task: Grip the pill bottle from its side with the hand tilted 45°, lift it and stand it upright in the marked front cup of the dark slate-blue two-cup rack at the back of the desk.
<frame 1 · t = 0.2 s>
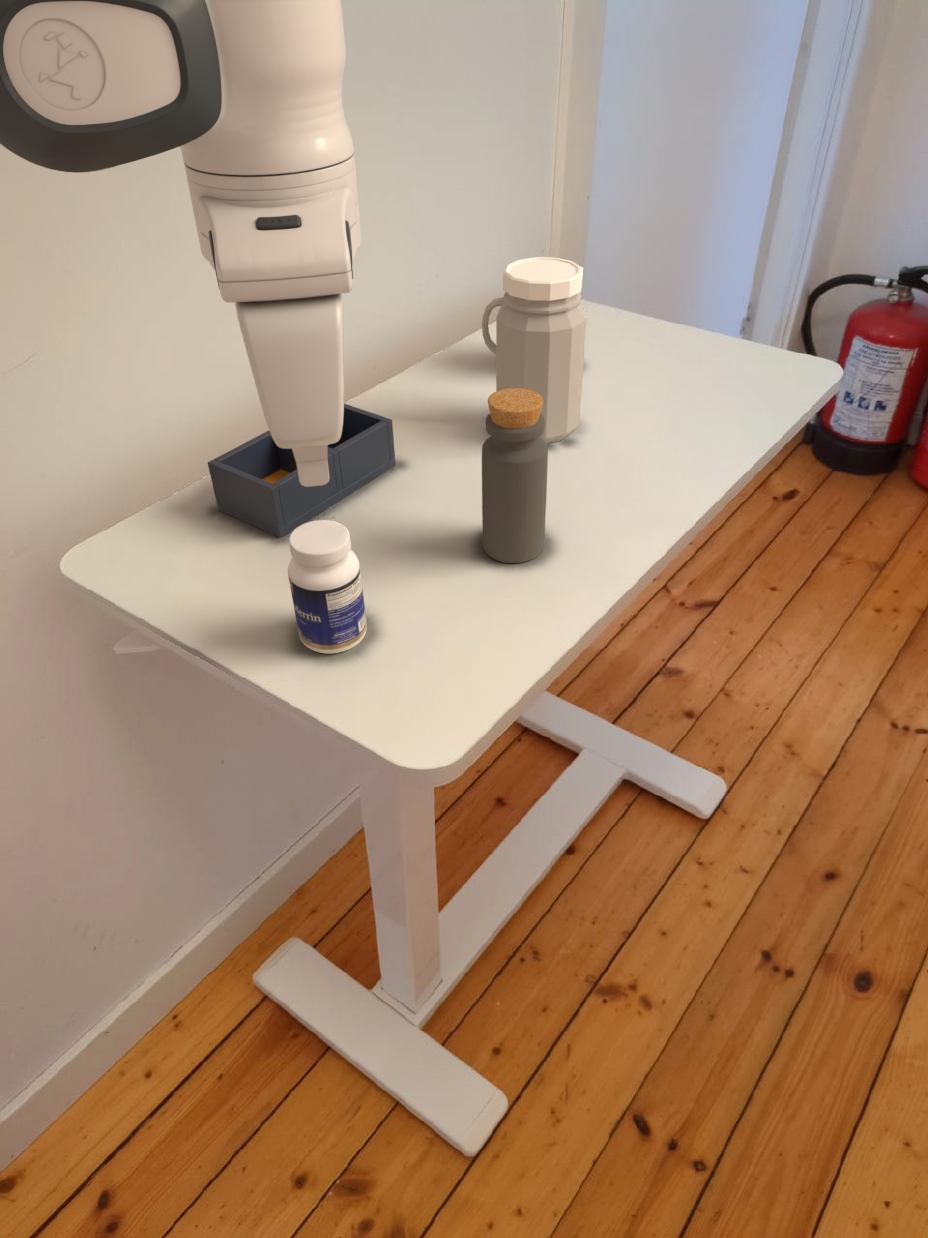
hand: (310, 443, 57), 21 cm above the table, tool pointing down, fingers open, 8 cm apart
jar: (538, 428, 104), on the table
rack: (309, 487, 95), on the table
bottle: (513, 548, 85), on the table
pill bottle: (334, 636, 76), on the table
mug: (529, 364, 118), on the table
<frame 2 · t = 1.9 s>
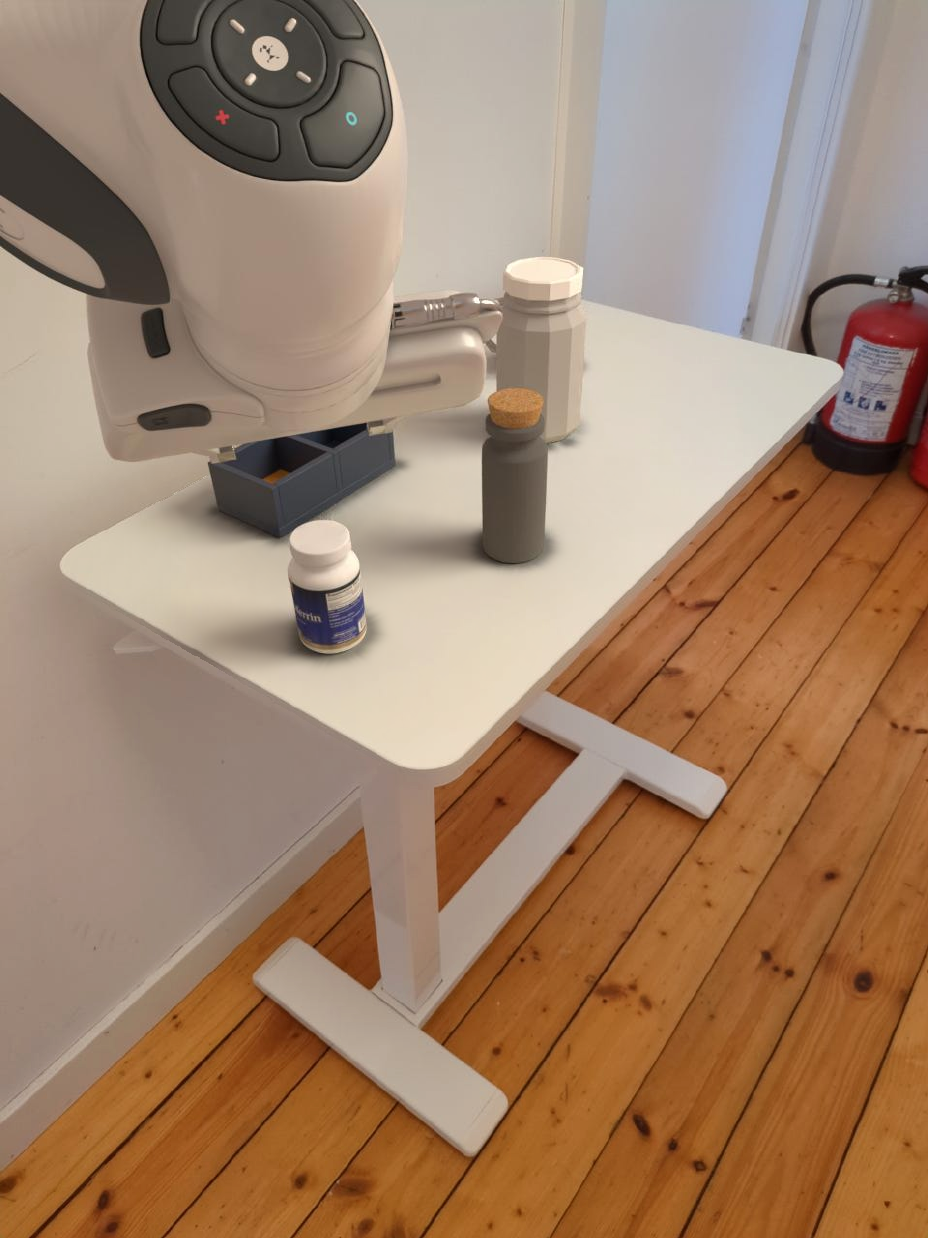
hand: (300, 436, 54), 23 cm above the table, tool tilted 45°, fingers open, 8 cm apart
nothing on the table moved.
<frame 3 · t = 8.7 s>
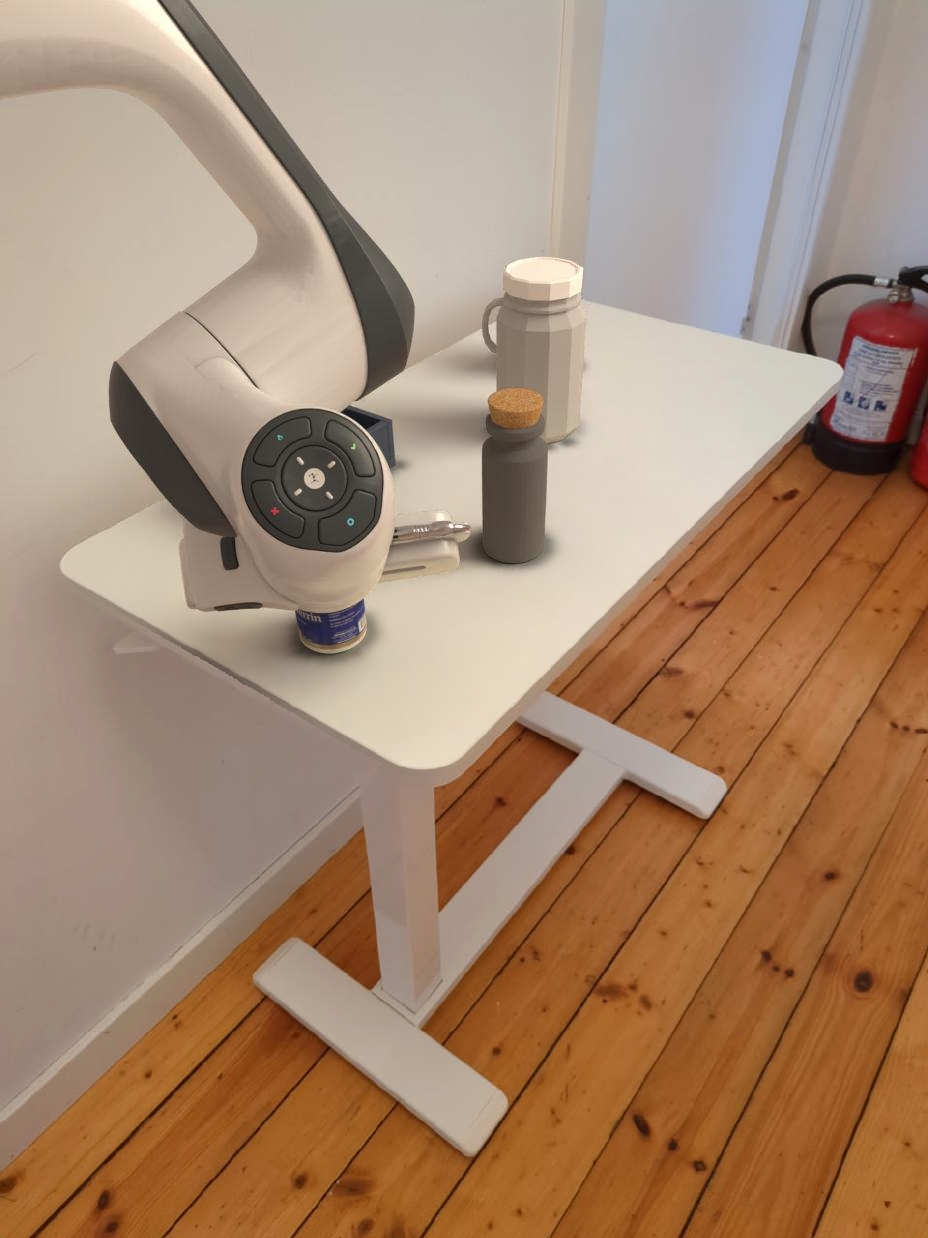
hand: (324, 578, 73), 5 cm above the table, tool tilted 45°, fingers closed on pill bottle, 6 cm apart
pill bottle: (334, 635, 76), on the table, touching gripper
everything else where it was.
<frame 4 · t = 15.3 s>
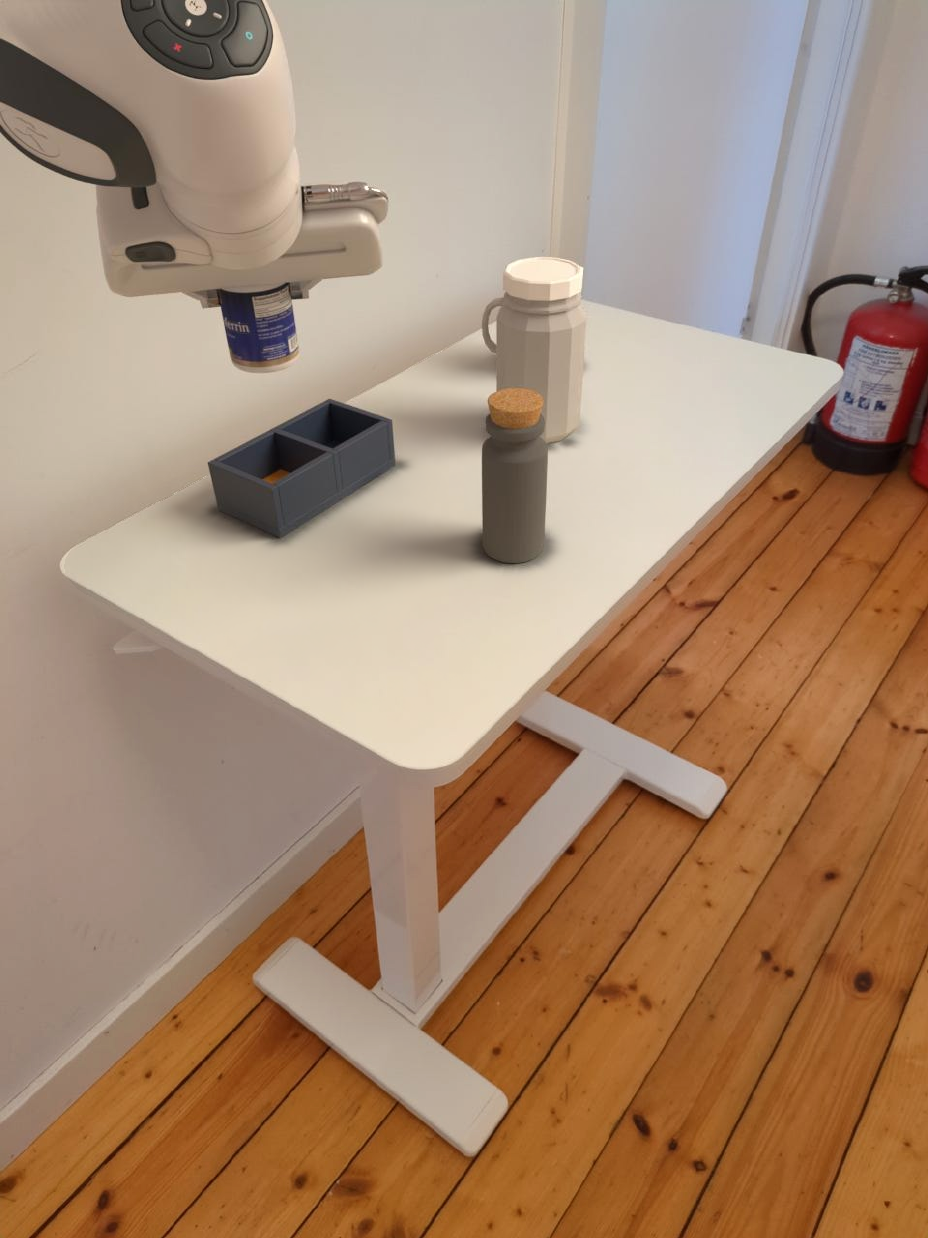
hand: (254, 295, 73), 23 cm above the table, tool tilted 45°, fingers closed on pill bottle, 6 cm apart
pill bottle: (266, 363, 76), point 18 cm above the table, touching gripper
everything else where it was.
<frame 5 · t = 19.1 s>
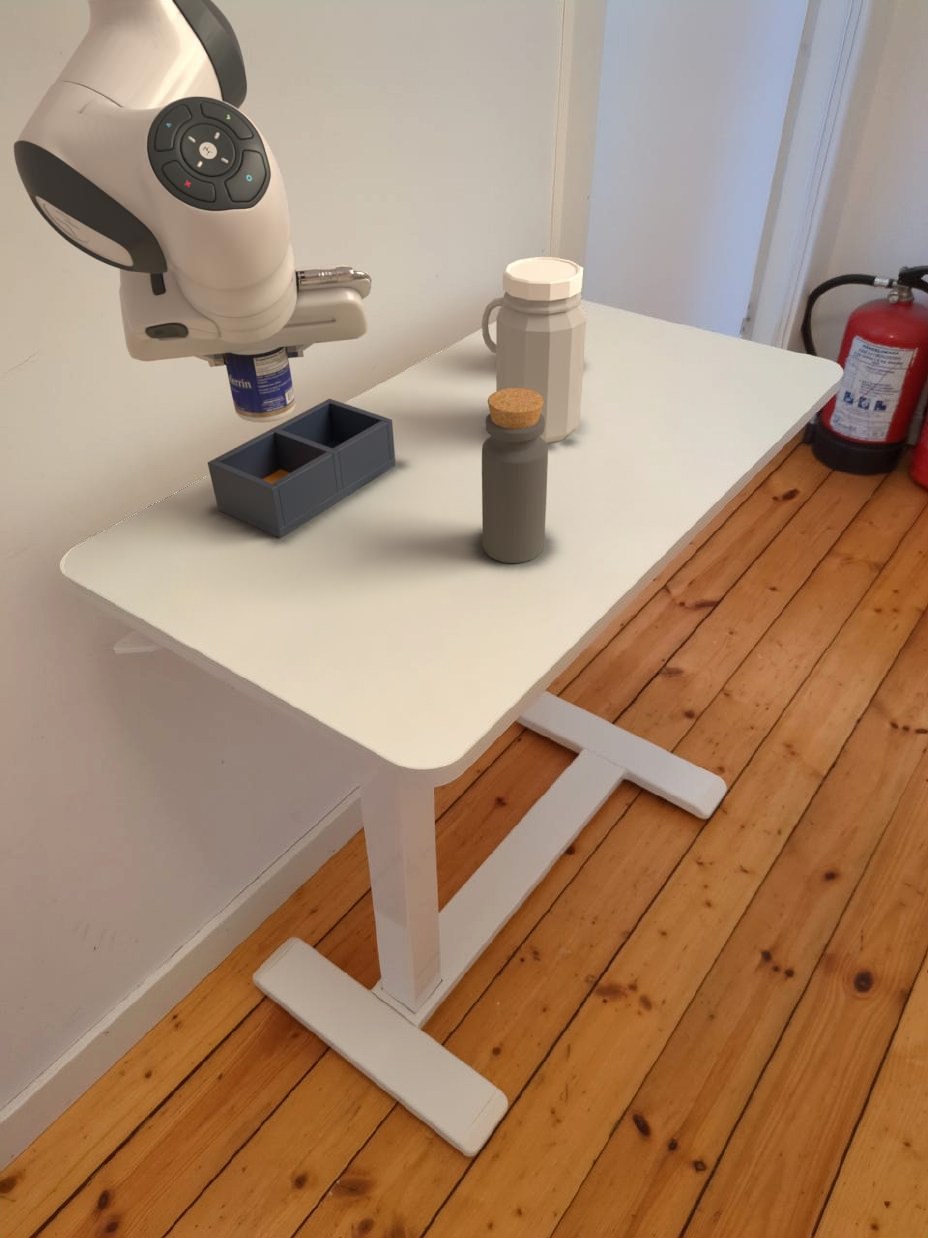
hand: (255, 354, 83), 16 cm above the table, tool tilted 45°, fingers closed on pill bottle, 6 cm apart
pill bottle: (266, 412, 86), point 10 cm above the table, touching gripper
everything else where it was.
when the fingers open (6 cm above the table, at t = 22.2 s): pill bottle stays where it is, resting on rack.
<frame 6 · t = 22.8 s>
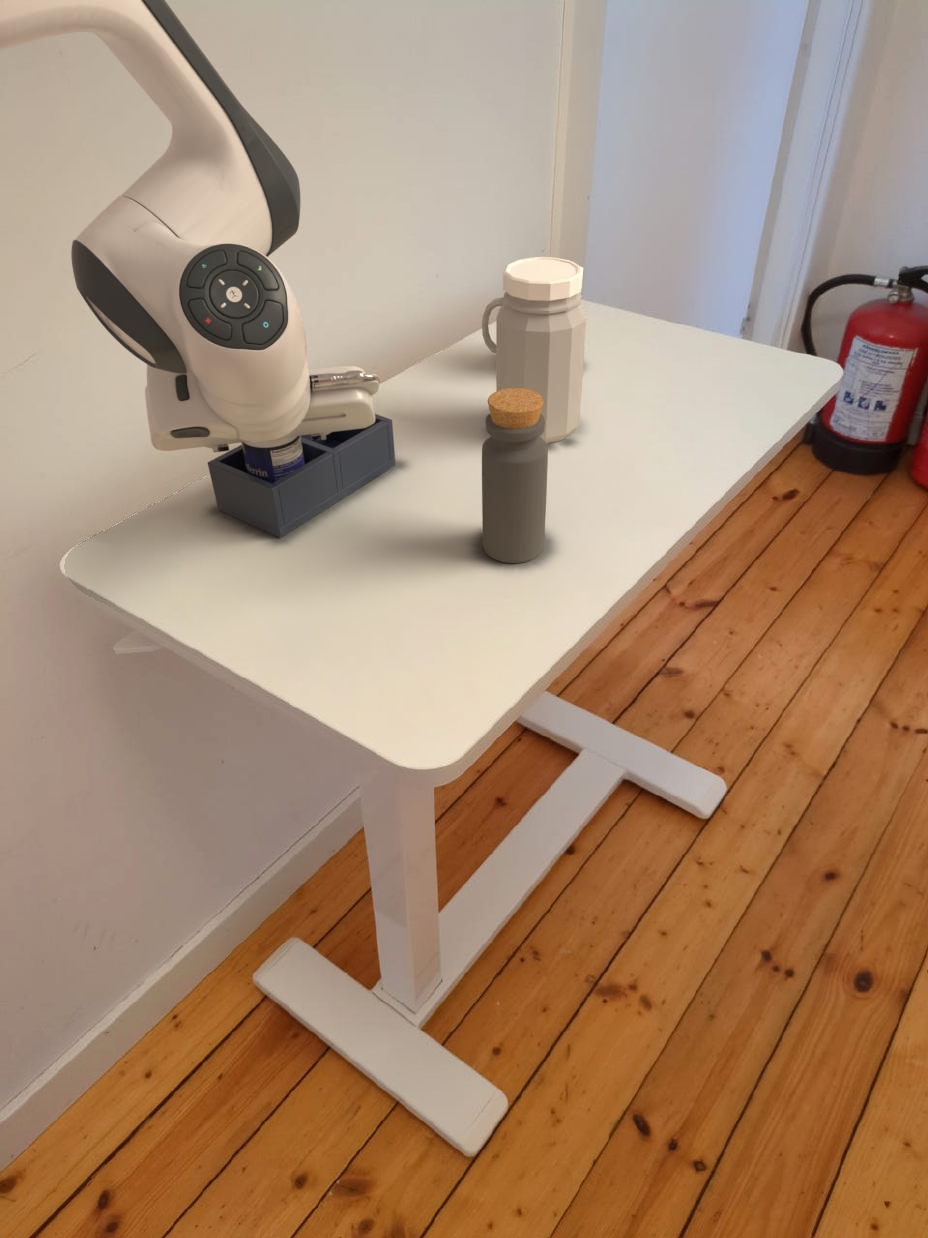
hand: (269, 438, 88), 7 cm above the table, tool tilted 45°, fingers open, 8 cm apart
pill bottle: (281, 495, 91), point 1 cm above the table, touching rack
everything else where it was.
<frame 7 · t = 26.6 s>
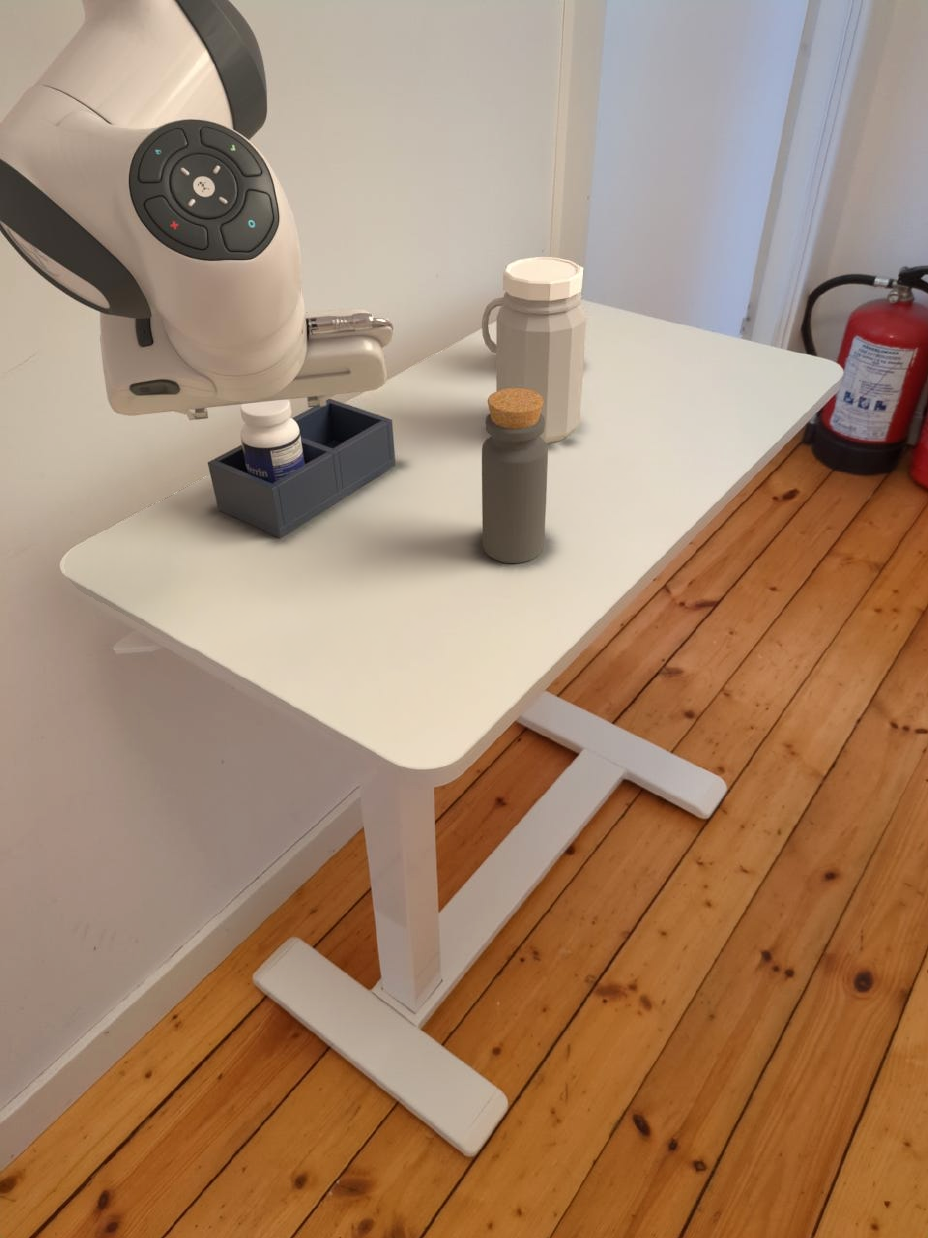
hand: (257, 404, 73), 16 cm above the table, tool tilted 45°, fingers open, 8 cm apart
nothing on the table moved.
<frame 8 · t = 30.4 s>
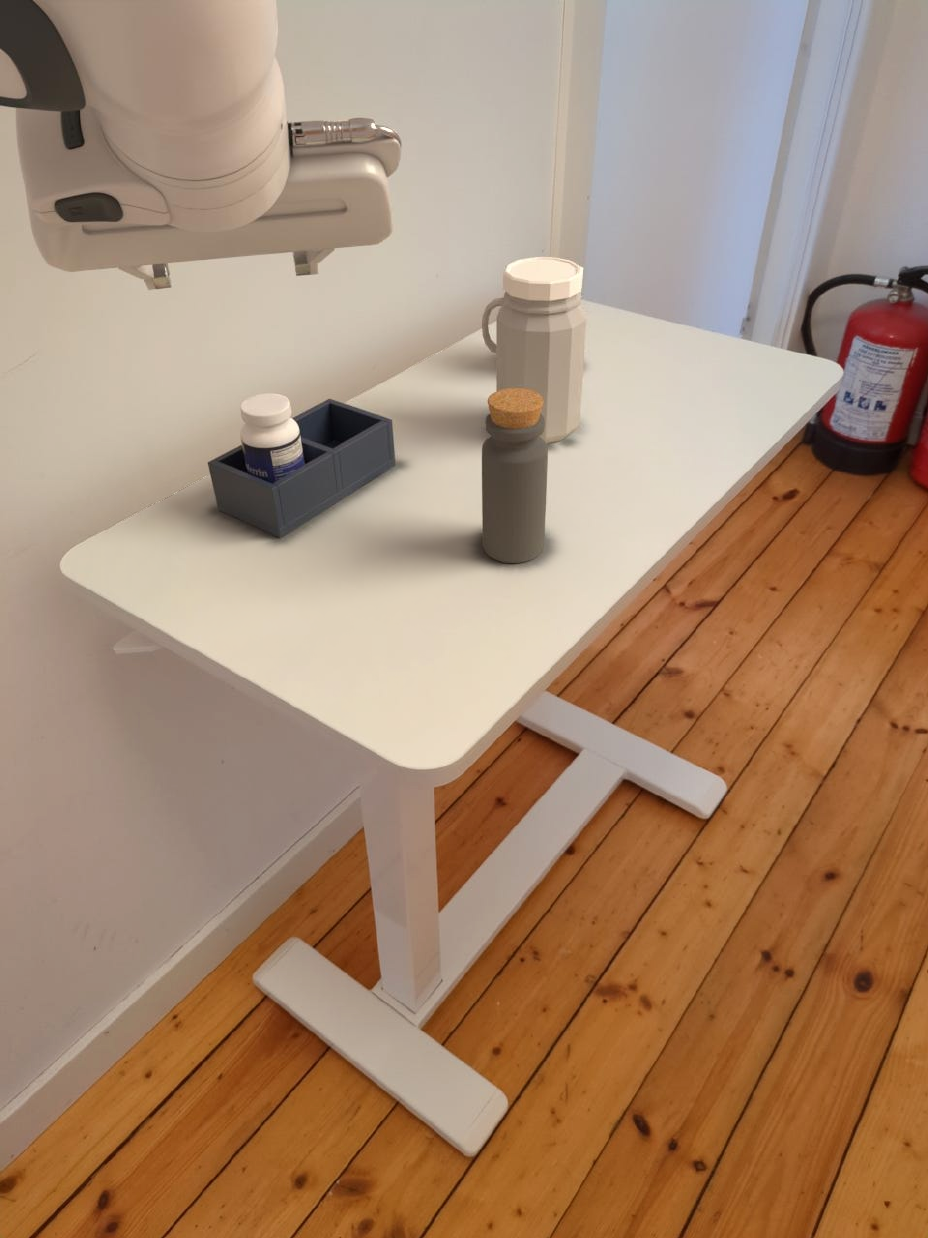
hand: (233, 271, 59), 29 cm above the table, tool tilted 45°, fingers open, 8 cm apart
nothing on the table moved.
at the end: pill bottle 0.1 cm from the target spot in the rack, point 1.0 cm above the rack's base; pill bottle tilted 0°; the gripper is holding nothing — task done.
